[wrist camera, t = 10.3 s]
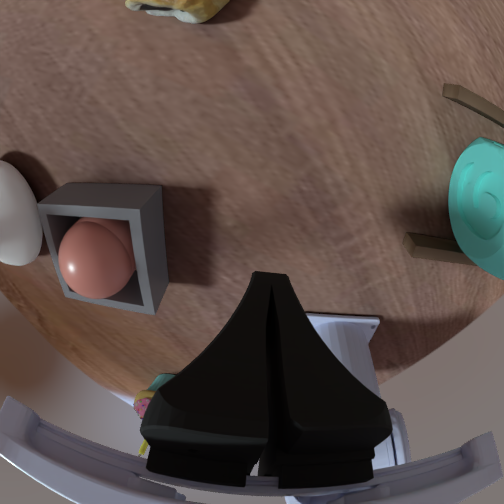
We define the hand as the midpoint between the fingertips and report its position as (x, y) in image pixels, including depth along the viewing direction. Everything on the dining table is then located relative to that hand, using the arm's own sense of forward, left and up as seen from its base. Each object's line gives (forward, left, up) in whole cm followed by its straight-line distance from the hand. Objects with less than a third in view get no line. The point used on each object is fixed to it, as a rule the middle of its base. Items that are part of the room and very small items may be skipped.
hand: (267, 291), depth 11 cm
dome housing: (-4, +12, -9) cm, 16 cm away
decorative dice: (+4, -17, -10) cm, 20 cm away
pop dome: (-4, +12, -9) cm, 15 cm away
